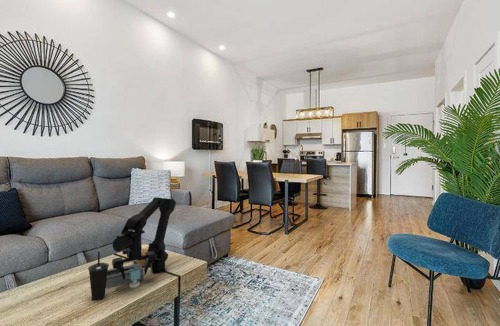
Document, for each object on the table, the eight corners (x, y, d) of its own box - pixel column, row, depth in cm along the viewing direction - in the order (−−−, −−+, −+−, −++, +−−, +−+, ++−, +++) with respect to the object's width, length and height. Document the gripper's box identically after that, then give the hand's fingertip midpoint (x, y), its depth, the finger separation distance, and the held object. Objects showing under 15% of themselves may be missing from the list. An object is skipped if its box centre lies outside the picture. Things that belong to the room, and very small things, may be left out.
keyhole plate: (139, 272, 134) (139, 263, 134) (143, 279, 126) (143, 269, 126) (100, 281, 123) (100, 271, 123) (102, 289, 116) (102, 278, 116)
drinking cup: (93, 304, 104) (94, 256, 104) (84, 298, 108) (84, 252, 108) (112, 296, 111) (112, 251, 110) (102, 291, 115) (103, 247, 114)
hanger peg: (138, 282, 123) (138, 266, 123) (140, 286, 120) (140, 270, 120) (128, 284, 121) (128, 269, 121) (130, 288, 117) (130, 272, 117)
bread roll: (140, 270, 136) (140, 255, 136) (128, 262, 147) (128, 248, 146) (156, 265, 144) (157, 251, 143) (145, 257, 154) (145, 244, 154)
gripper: (150, 236, 132) (150, 266, 132) (110, 243, 121) (110, 275, 121) (156, 242, 123) (156, 274, 123) (113, 250, 112) (113, 285, 112)
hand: (134, 277), depth 120 cm, fingers open, 9 cm apart
